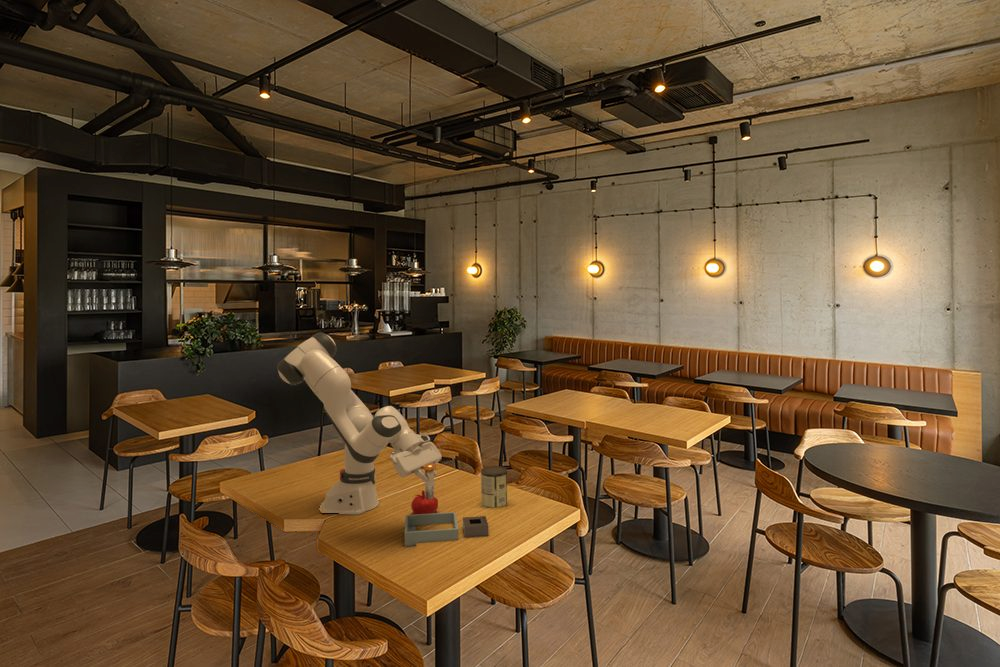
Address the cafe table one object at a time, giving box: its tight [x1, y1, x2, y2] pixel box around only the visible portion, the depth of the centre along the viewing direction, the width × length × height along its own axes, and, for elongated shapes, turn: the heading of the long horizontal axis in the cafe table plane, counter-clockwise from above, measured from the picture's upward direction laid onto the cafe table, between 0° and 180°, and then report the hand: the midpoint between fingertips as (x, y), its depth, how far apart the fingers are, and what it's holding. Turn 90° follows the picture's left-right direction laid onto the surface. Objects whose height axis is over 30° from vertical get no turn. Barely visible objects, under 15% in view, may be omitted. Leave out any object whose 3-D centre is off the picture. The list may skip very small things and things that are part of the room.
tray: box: [404, 511, 459, 547], centre depth 183 cm, size 18×15×4 cm
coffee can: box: [480, 465, 508, 509], centre depth 209 cm, size 10×10×14 cm
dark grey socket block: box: [462, 515, 489, 538], centre depth 183 cm, size 8×8×4 cm
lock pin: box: [422, 463, 437, 499], centre depth 182 cm, size 4×4×11 cm
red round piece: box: [410, 490, 439, 515], centre depth 200 cm, size 10×10×9 cm
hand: (430, 478), depth 181 cm, fingers closed on lock pin, 3 cm apart
